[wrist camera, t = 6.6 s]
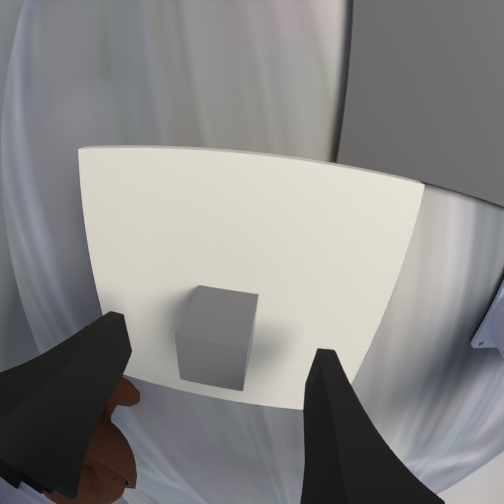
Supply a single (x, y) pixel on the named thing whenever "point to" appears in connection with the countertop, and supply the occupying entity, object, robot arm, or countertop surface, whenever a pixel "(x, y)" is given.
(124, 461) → the ice cream bowl
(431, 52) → the mat
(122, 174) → the cover sheet
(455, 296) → the countertop surface
